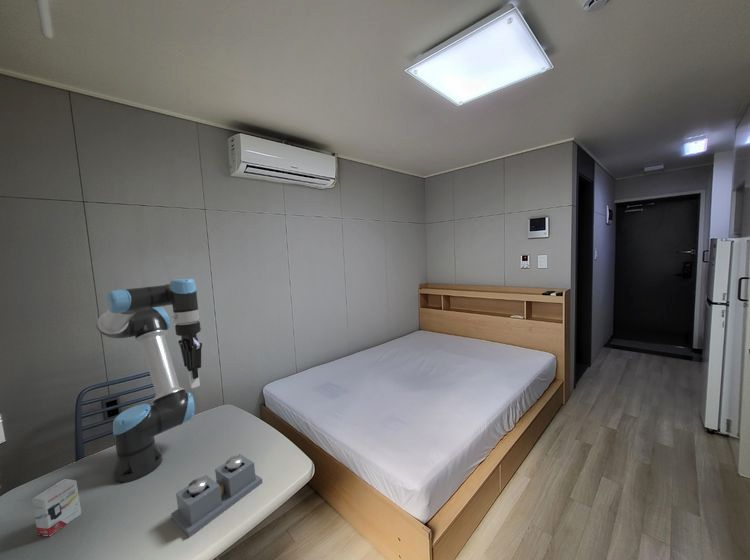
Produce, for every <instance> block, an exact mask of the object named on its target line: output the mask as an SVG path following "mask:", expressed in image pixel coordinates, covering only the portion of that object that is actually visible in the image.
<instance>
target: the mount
mask: <svg viewBox="0 0 750 560" xmlns="http://www.w3.org/2000/svg"><path fill="white" fill-rule="evenodd" d="M238 455H239V456H241V457H242V463H243V464H242V466H241V467H240V468H239V469H237V470H236V471H234V472H233V473H231V472H229V471H228V470H227V467H226V462H224V463H222V464H221V465H220V466H218V467H216V468H215V469H214V472H215V473H214V474H215V479H216V481H215V480H214V479H212V478H211V477H210V476H208V474H205V475H203V476H202V477H204V478H206V480H207V488H206V490H205V491H204V492H202V493H201V494H199V495H198V496H196V497H194V498H193V497H192V496H191V495H189V490H188V485H187V486H185V487H184V488H182V489H181V490H179V491H177V492H176V493H175V496H176V504H177V509H176V510H173V512H171V513H170V516H171V519H172V520H173V521H174V523H175V524H176V525H177V526H178V527H179V528H180V529H181V531H183V532H184V534H185V535H187V537H188V538H191V537H193V535H195V534H196V533H198V532H199V531H201V530H202V529H204V528H205V526H207V525H208V524H210V523H211V522H212V521H213V520H215V519H216V518H217V517H219V516H220V515H222V514H223V513H224V512H225V511H227V510H229V508H231V507H232V506H233V505H235V504H236V503H237V502H239V501H241V499H243V498H244V497H246V496H247V495H248V494H250V493H251V492H252V491H253V490H255V489H256V488H258V487H259V486H260V485H262V484H263V478H262V477H260V476H259V475H258V474H256V469H255V462H254V461H253V460H251V459H249V458H247V457H246V456H244V455H242V454H241V453H239V454H238Z"/></svg>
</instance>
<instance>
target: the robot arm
mask: <svg viewBox="0 0 750 560" xmlns="http://www.w3.org/2000/svg"><path fill="white" fill-rule="evenodd" d="M106 304H107V308H108V309H107V310H106V312H104V313H102V314H101V315H100V316H99V317H98V319H97V321H96V325H95V326H96V329H97V331H98V332H99V333H100V334H101V335H103V336H104V337H107V338H112V339H127V338H133V337H134V338H135V341H136V342H138V343H141V345H142V346H141V347H142V349H143V354H144V357H145V360H146V361H145V362H146V364H147V368H148V371H149V376H150V379H151V382H152V387H153V389H154V392H155V396H154V397H153V400H152V404H153V405H150V404H148V403H142V404H138V405H134V406H132V407H128V408H127V409H125V410H124V411H122V412H121V413H119V414H118V415H116V416H115V418H114V419H113V421H112V434H113V437H114V443H115V451H116V460H115V464H114V467H113V472H112V473H113V480H114V481H115V482H117V483H127V482H132V481H134V480H138V479H140V478H143V477H145V476H146V475H149V474H150V473H152V472H153V471H155V470H156V469H157V468H158V467H160V465H161V464H162V463H163V459H164V458H163V453H162V451H161V449H160V447H159V446H158V445H157V443H156V440H155V436H158V435H159V434H163V433H164V432H167V431H170V430H171V429H174V428H176V427H178V426H181V425H183V424H185V423H187V422H189V421H190V420H192V418H193V417H194V415H195V400H194V399H195V398H194V396H193V394H192V393H191V392H189V391H187V392H186V389H185V388H184V387H181V386H180V383H179V379H178V377H177V373H176V370H175V366H174V363H173V359H172V355H171V353H170V350H169V346H168V343H167V340H166V335H168V332H169V331H168V330H169V329H170V328H171V322H170V321H171V320H170V317H169V314H168V313H167V311H166V310H165V308H163V307H165V306H172V313H173V315H172V318H173V319H174V323H175V326H174V329H175V335H176V336H178V337H181V339H180V340H178V341H177V342H178V344H179V349H180V352H181V357H182V360H183V366H184V367H185V368H186V369H187V371H188V382H189V389H195V388H197V387H200V386H201V383H200V381H201V380H200V373H199V369H200V368H202V347H203V343H202V342H199V338H198V335H197V334H198V333H200V332H201V330H202V329H201V323H200V322H201V321H199V320H200V309H199V304H198V293H197V285H196V280H194V279H193V278H180V279H179V278H177V279H172V280H170V282H169V283H166V284H163V285H161V284H160V285H153V286H145V287H144V286H143V287H133V288H120V289H117V290H110V291H109V292H108V293H107V294H106Z"/></svg>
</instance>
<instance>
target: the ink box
mask: <svg viewBox="0 0 750 560" xmlns="http://www.w3.org/2000/svg"><path fill="white" fill-rule="evenodd" d="M78 490H79V489H78V483H77V479H70V478H64V479H62V480H60V481H59V482H57V483H55V484H54V485H52V486H50V487H49V488H47V489H46V490H44V491H42V492H41V493H39V494H38V495H36V496H34V497H33V498H32V499H31V501H32V502H31V503H32V509H33V514H34V520H35V526H36V531H37V535H38V534H40V535H48V536H49V535H51V534H52V533H54V532H55V531H57V530H58V529H60V528H61V527H63V526H64V525H65V526H66V524H67V525H68V524H69V523H71V522H72V521H73V520H75V519H77V518H78V517H79V516H80V515H81V514H82V508H81V503H80V494H79V491H78ZM74 518H75V519H74ZM70 521H71V522H70ZM65 526H64V527H65ZM64 527H63V528H64ZM61 529H62V528H61ZM61 529H60V530H61ZM57 532H58V531H57ZM54 534H55V533H54Z"/></svg>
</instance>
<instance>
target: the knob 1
mask: <svg viewBox="0 0 750 560" xmlns="http://www.w3.org/2000/svg"><path fill="white" fill-rule="evenodd" d="M187 486H188V490H189V495H191V496H192V497H193V498H194V497H196V496H198V495H199V494H201V493H202V492H204V491H205V490H206V488H207V480H206V478H204V477H203V476H202V477H198V478H195V479H194V480H192V481H191V482H190V483H189V484H188V485H187Z"/></svg>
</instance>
